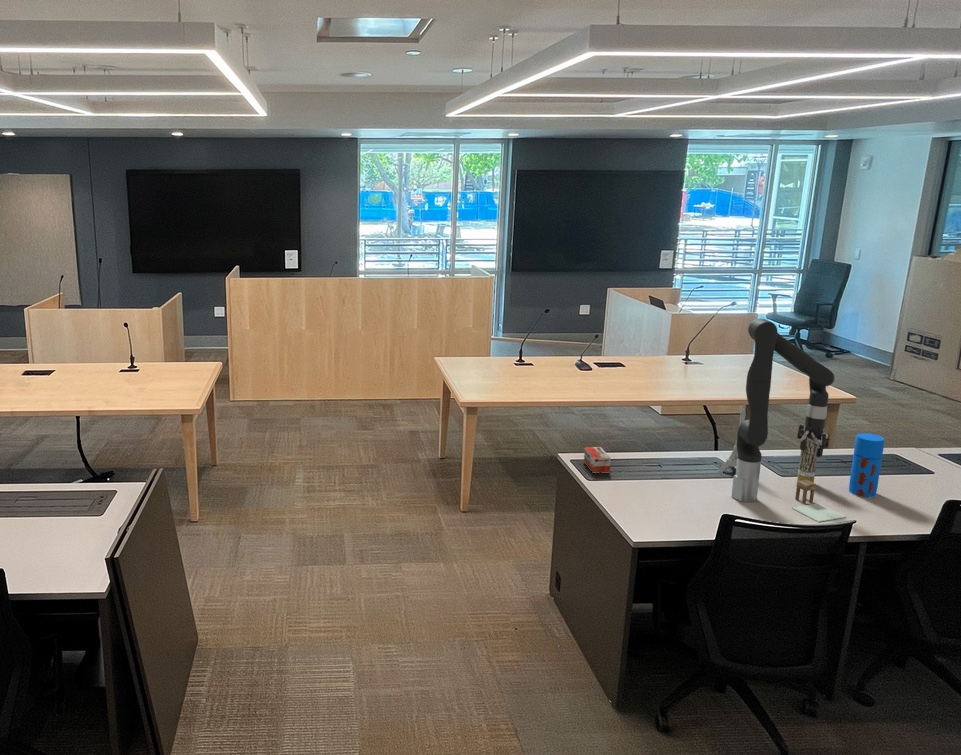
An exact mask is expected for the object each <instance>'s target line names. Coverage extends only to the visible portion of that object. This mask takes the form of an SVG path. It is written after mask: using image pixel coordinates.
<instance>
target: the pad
mask: <svg viewBox="0 0 961 755" xmlns="http://www.w3.org/2000/svg"><path fill="white" fill-rule="evenodd" d="M791 509H792V510H794V511H796V512H797V513H800V514H802V515H804V516H805V517H808V518H809V519H811V520H813V521H815V522H817V523H822V522H829V521H835V520H839V519H841V520H842V519H846V518H847V516H846V515H843V514H842V513H840V512H838V511H835V510H833V509H831V508H830V507H827V506H825V505H824V504H821V503H813V504H812V503H811V504H806V505H800V506H799V505H798V506H795V507H794V506H793V507H792V508H791Z"/></svg>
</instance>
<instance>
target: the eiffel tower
mask: <svg viewBox="0 0 961 755" xmlns="http://www.w3.org/2000/svg"><path fill="white" fill-rule="evenodd" d="M746 416H747V415H746V411H745V408H742V410H741V412H740V415H739V417H740V420H739V425H740V424H741V423H742V422H743V421H745V420H746ZM737 459H738V452H737V439H736V441H735V445H733V450H732V452H731V454H730V456H729V457H728V458H726V459H725V460H726V461H725V462H724V463H723V464H722V466H720V468H719V469H718V470H717V471H716V473H719V474H724V473H725V472H726V469H727V468H728V467H729V468H734V467H736V468H737ZM723 472H724V473H723Z"/></svg>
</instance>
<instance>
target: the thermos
mask: <svg viewBox="0 0 961 755" xmlns="http://www.w3.org/2000/svg"><path fill="white" fill-rule="evenodd" d="M884 448H885V438H884V437H883V436H881V435H878V434H874V433H868V432H867V433H858V434H856V436H855V442H854V449H853V455H852V462H851V470H850V474H849V475H850V476H849V484H848V491H849V493H850V494H852V495H854V496H857V497H861V498H873V497H876V495H877V491H878V486H879V485H878V484H879V480H880V474H881V473H880V472H881V467H882V460H883V459H882V458H883V453H884Z"/></svg>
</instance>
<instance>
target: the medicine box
mask: <svg viewBox="0 0 961 755" xmlns="http://www.w3.org/2000/svg"><path fill="white" fill-rule="evenodd" d="M584 462H585V463H586V464H587V466H588V467H589V468H590V469H591V470H592V472H610V471H611V470H610V469H611V457H610V455H609V454H608V453H607V452H606V451H605V450H604V448H602V447H601V446H590V447H589V446H588V447H586V446H585V447H584V453H583V463H584ZM587 466H586V467H587ZM610 473H611V472H610Z"/></svg>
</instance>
